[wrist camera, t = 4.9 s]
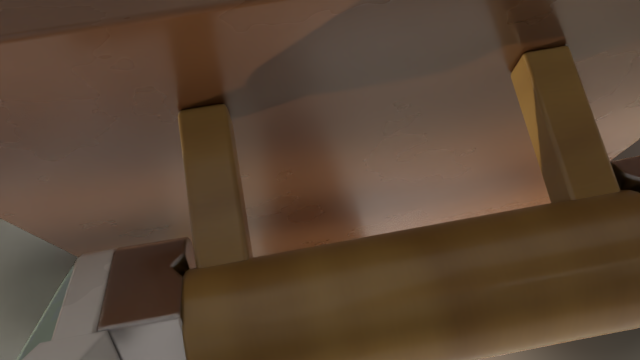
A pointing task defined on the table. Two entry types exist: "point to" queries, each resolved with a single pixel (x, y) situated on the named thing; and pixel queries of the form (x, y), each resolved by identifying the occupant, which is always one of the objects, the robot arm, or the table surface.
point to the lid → (339, 165)
